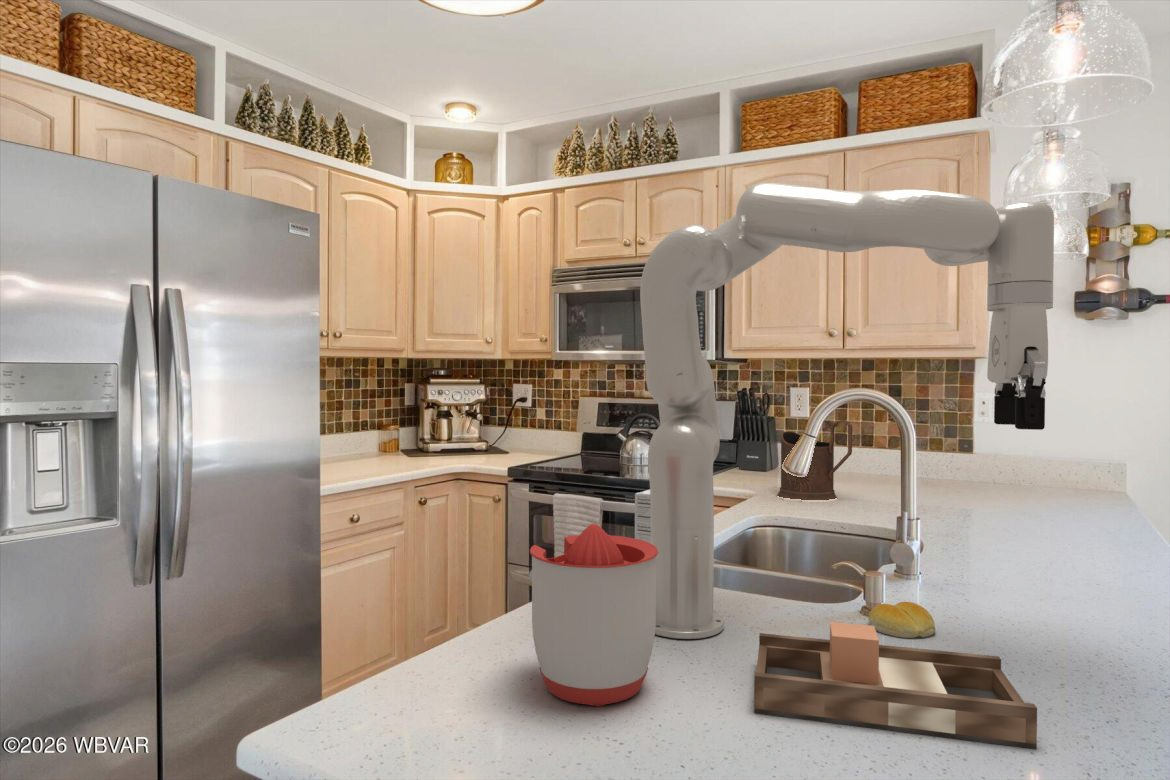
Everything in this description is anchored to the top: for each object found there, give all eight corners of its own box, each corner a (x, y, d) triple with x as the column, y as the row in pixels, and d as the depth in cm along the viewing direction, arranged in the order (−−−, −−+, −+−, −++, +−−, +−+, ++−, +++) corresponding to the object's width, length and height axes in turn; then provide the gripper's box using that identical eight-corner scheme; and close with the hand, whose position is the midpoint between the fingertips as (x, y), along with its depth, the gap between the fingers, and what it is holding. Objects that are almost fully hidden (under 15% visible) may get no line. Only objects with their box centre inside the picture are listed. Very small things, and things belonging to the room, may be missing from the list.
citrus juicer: (575, 648, 99) (575, 505, 99) (682, 682, 88) (683, 521, 88) (492, 686, 87) (492, 523, 87) (605, 730, 76) (605, 544, 76)
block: (831, 679, 82) (832, 636, 82) (829, 662, 87) (829, 621, 87) (878, 684, 81) (878, 640, 81) (873, 667, 86) (874, 625, 86)
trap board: (754, 712, 80) (754, 675, 80) (759, 664, 94) (759, 632, 94) (1036, 749, 73) (1037, 708, 73) (998, 690, 86) (998, 656, 86)
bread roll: (859, 622, 111) (859, 596, 111) (913, 620, 112) (913, 594, 112) (887, 642, 103) (887, 614, 103) (945, 639, 104) (946, 612, 104)
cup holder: (797, 491, 238) (798, 415, 237) (866, 500, 219) (867, 419, 219) (764, 497, 226) (764, 418, 225) (833, 507, 207) (834, 421, 207)
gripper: (972, 305, 105) (971, 422, 105) (1006, 292, 88) (1005, 430, 88) (1030, 304, 103) (1029, 423, 103) (1076, 290, 86) (1074, 432, 86)
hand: (1017, 426), depth 96 cm, fingers open, 9 cm apart
